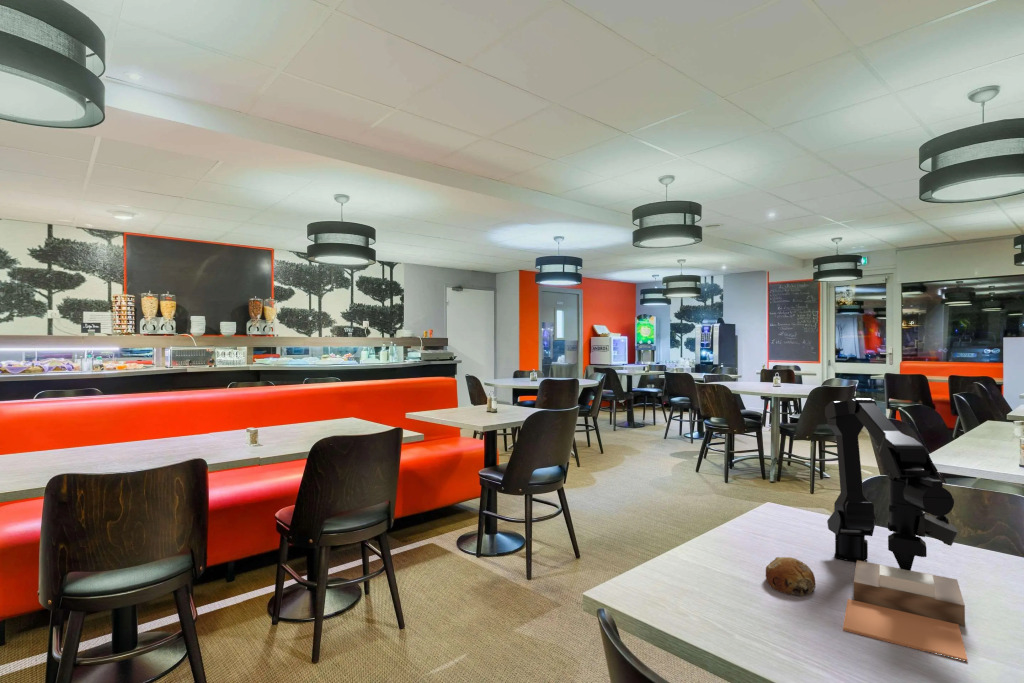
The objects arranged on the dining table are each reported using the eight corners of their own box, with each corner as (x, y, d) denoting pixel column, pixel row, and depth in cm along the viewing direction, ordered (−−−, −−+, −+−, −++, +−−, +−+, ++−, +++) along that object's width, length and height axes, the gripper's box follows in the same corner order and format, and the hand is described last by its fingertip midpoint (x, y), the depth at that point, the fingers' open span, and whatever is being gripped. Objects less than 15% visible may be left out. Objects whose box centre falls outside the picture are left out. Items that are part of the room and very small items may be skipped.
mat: (843, 630, 101) (843, 627, 101) (847, 601, 113) (847, 598, 113) (967, 662, 91) (967, 659, 91) (958, 627, 102) (958, 624, 102)
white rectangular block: (879, 586, 111) (879, 574, 111) (879, 575, 116) (879, 564, 116) (934, 597, 106) (934, 585, 106) (932, 586, 111) (932, 574, 111)
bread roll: (814, 600, 121) (812, 563, 124) (818, 599, 112) (816, 558, 115) (765, 592, 125) (765, 556, 128) (766, 590, 116) (765, 551, 120)
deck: (853, 600, 113) (853, 581, 113) (856, 577, 124) (856, 560, 124) (964, 626, 103) (964, 605, 103) (957, 598, 114) (957, 579, 114)
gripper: (959, 520, 102) (960, 602, 102) (949, 497, 117) (950, 569, 117) (887, 510, 108) (888, 587, 108) (887, 489, 124) (888, 557, 123)
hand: (906, 575), depth 114 cm, fingers closed
